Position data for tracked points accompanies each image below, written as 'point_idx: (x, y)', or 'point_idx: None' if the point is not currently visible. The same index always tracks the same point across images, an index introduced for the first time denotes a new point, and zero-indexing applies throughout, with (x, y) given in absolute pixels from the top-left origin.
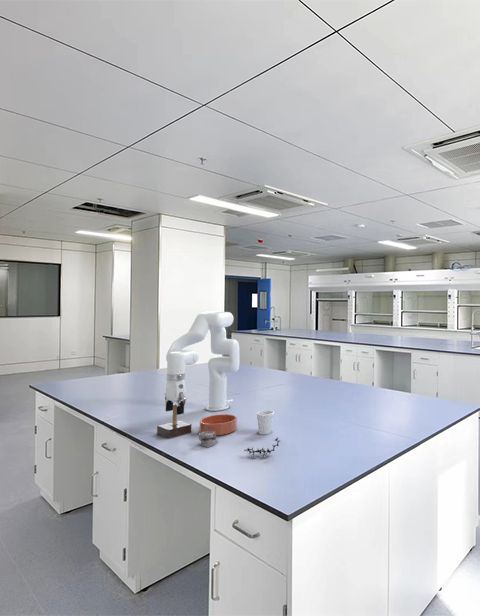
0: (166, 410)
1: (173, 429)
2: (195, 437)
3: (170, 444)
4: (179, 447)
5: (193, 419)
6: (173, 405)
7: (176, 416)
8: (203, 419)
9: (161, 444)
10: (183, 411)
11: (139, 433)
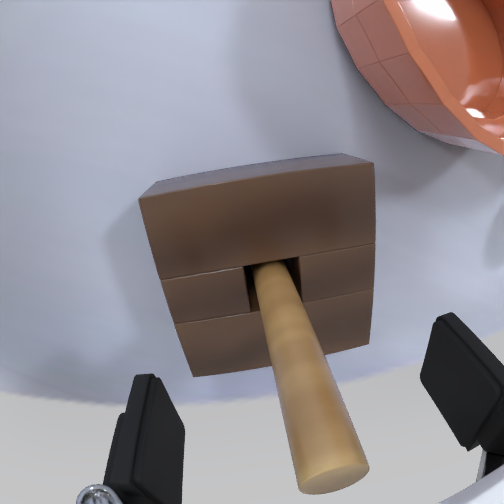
0: (181, 437)
1: (369, 314)
2: (450, 186)
3: (432, 319)
4: (484, 297)
5: (8, 42)
6: (337, 483)
7: (313, 329)
8: (428, 63)
9: (397, 349)
10: (462, 328)
11: (122, 385)
